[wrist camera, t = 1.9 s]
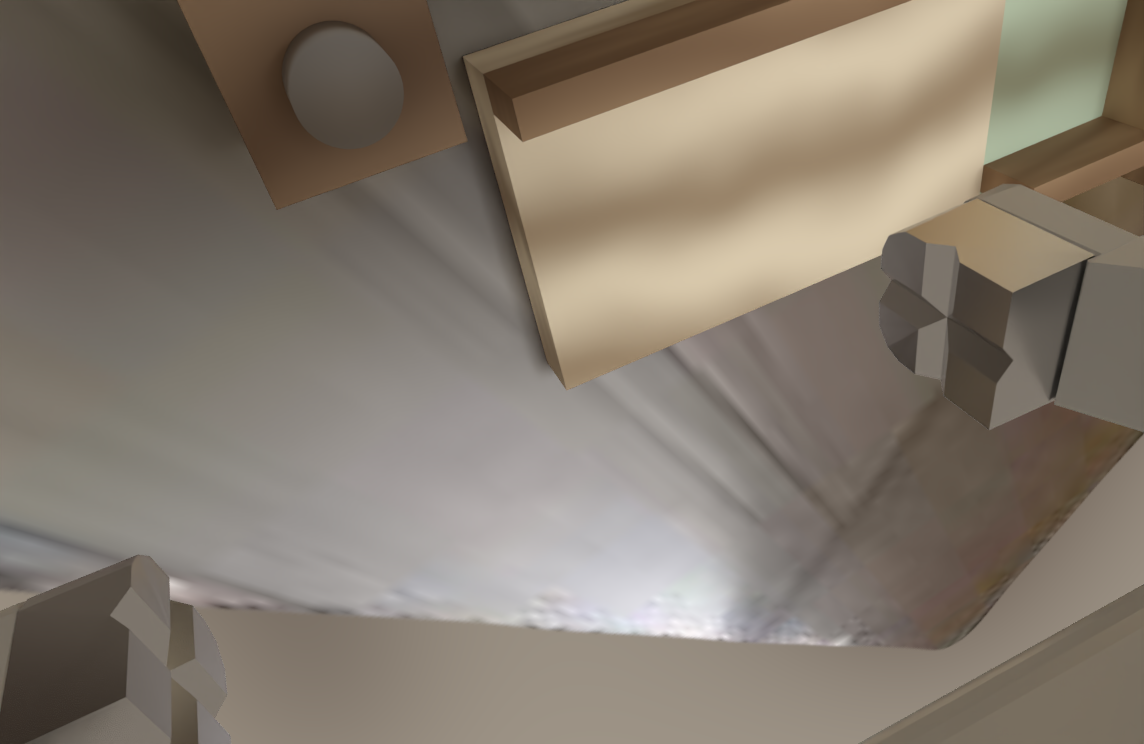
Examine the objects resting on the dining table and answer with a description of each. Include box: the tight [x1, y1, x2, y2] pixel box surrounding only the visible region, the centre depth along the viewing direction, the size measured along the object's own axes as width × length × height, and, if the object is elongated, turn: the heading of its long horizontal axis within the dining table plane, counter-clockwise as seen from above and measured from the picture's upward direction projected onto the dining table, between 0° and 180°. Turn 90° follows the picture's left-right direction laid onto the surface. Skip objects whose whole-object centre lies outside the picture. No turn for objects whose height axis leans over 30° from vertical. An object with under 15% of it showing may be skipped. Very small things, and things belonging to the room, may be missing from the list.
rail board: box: [463, 0, 1144, 390], centre depth 29 cm, size 12×26×4 cm, turn 102°
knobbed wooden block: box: [177, 0, 467, 210], centre depth 20 cm, size 5×5×6 cm
